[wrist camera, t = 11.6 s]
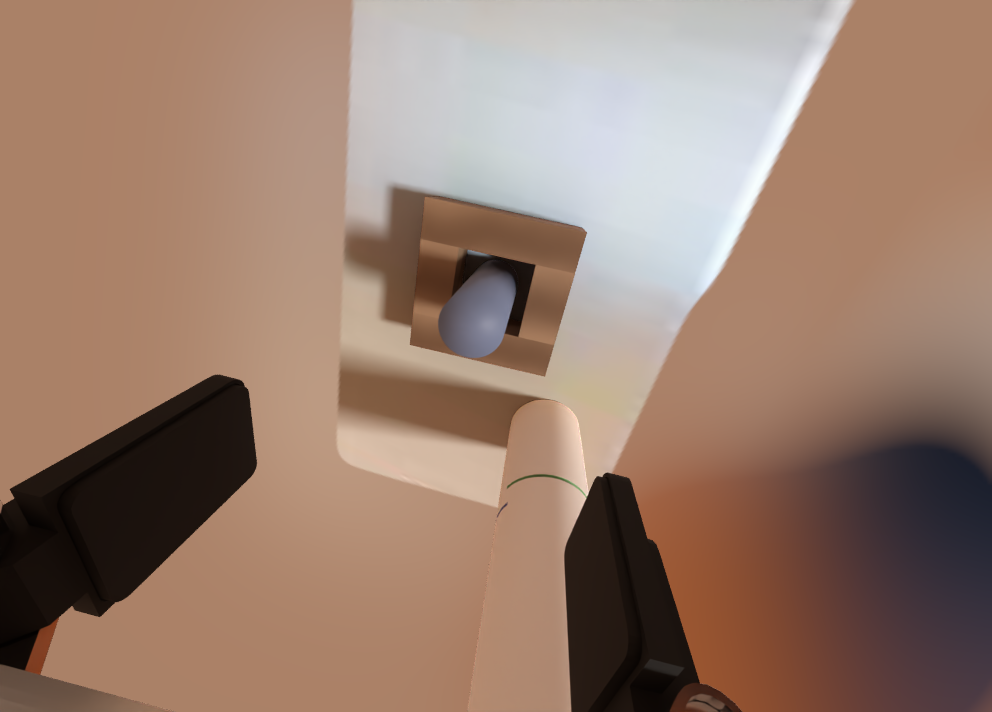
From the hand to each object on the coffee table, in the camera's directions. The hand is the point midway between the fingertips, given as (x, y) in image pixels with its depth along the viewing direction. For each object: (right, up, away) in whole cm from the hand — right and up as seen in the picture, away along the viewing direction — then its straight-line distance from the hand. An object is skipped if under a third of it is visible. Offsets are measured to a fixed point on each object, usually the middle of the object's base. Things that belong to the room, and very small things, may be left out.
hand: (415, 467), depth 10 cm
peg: (+2, +10, +23) cm, 25 cm away
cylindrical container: (+7, -5, +28) cm, 30 cm away
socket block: (+2, +9, +23) cm, 25 cm away
